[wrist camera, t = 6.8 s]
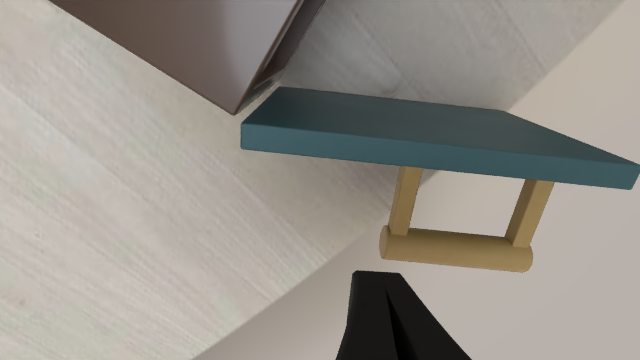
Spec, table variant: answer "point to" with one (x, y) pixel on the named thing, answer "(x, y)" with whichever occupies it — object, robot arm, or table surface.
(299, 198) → the table surface
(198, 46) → the cabinet
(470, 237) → the cabinet door
